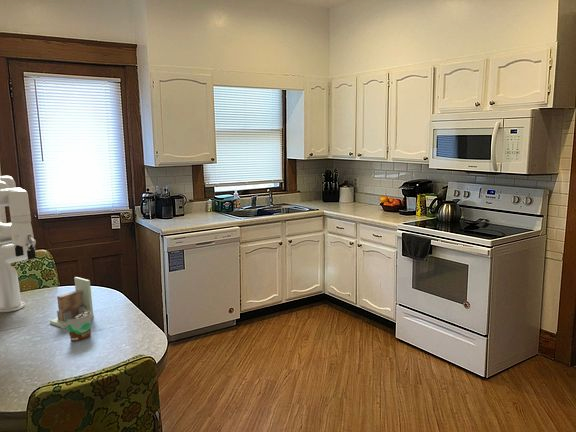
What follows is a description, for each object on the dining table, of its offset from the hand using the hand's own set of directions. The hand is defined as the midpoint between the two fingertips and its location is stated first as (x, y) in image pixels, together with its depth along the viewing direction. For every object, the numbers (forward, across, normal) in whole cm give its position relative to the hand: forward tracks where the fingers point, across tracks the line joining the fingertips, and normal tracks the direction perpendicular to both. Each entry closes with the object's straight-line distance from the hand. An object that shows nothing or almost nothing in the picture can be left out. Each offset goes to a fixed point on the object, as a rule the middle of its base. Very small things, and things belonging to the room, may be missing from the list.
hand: (25, 257), depth 215 cm
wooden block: (+29, +12, +11) cm, 33 cm away
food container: (+31, +33, +3) cm, 45 cm away
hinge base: (+30, +12, +11) cm, 34 cm away
